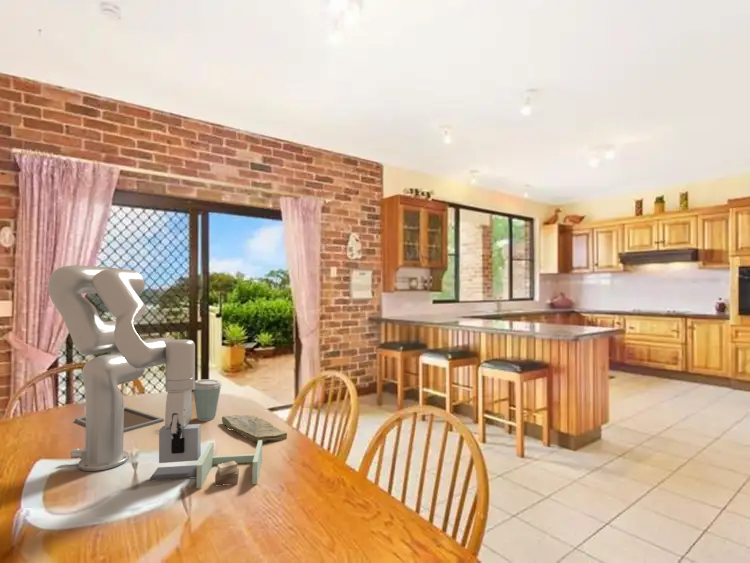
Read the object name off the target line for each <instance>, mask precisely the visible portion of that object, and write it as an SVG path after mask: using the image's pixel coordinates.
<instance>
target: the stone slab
mask: <svg viewBox="0 0 750 563" xmlns="http://www.w3.org/2000/svg"><path fill="white" fill-rule="evenodd" d="M221 421H222V424H223V426H225V425H226V426H227V427H226V426H225V427H226V429H227V428H229V429H233V430H235V431H234V432H237V433H238V434H239V435H241V436H242V435H243V436H242V437H244V436H245V438H246V437H247V438H246V439H248V438H249V440H250V439H251V441H253V442H256V443H258V440H262V444H264V443H263V442H264V441H265V442H268V441H267V440H278V441H281V439H282V440H284V438H285V439H287V438H288V433H287V431H285V430H281V429H279V428H277V427H276V426H274V425H273V424H272V423H271V422H269V421H267V420H265V419H263V418H261V417H259V416H256V415H253V414H251V415H250V414H243V415H241V414H234V415H225V416H222V417H221ZM233 430H232V431H233Z"/></svg>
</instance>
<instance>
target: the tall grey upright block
mask: <svg viewBox="0 0 750 563" xmlns="http://www.w3.org/2000/svg"><path fill="white" fill-rule="evenodd" d="M201 425H202V424H201V423H195V424H194V423H193V424H188V425H186V426H185V427H184V429H183V438H184V453H176V454H172V453H171V442H172V439H171V436H172V435H171V428H172V425H171V427H170V428H169V429H166V428H165V425H163V426H161V428H160V429H158V464H168V463H179V462H180V463H181V462H197V461H199V459H200V458H201V457H202V456H201V449H202V448H201V447H202V446H201V444H202V442H201V439H202V437H201V436H202V434H201V432H202V429H201V427H202V426H201ZM180 426H181V425H178V427H180ZM178 431H180V430H178Z"/></svg>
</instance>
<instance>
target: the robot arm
mask: <svg viewBox="0 0 750 563" xmlns="http://www.w3.org/2000/svg"><path fill="white" fill-rule="evenodd" d="M145 284H146V282H145V279H144V278H143V276H142V274H140V273H139V272H137V271H135V270H134V269H123V268H116V267H109V266H96V265H95V266H92V265H65V266H61V267H58V268H57V269H55V270H54V271H52V272H51V274H50V276H49V279H48V285H47V288H48V295H49V298H50V299H51V301H52V304H53V305H54V307H55V308H56V310H57V311H58V313H59V315H60V316H61V317H62V319H63V321H64V323H65V326H66V329H67V331H68V333H69V336H70V338H71V340H72V342H73V344H74V346H75V348H76V350H77V351H78V352H79V353H80V354H82V355H84V356H93V355H99V354H103V355H99V356H96V357H92V358H91V359H90V360H88V361H87V362H86V363H85V364H84V366H83V368H82V372H81V377H82V382H83V387H84V391H85V392H84V393H85V416H86V426H85V438H84V439H85V440H84V441H85V444H84V446H85V447H83V448H73V449H71V451H70V454H69V455H70V459H80V460H79V461H78V468H79V469H80V470H82V471H87V472H95V471H97V472H98V471H105V470H108V469H112V468H115V467H118V466H121V465H123V464H126V462H127V461H129V459H130V453H129V451H126V450H124V435H125V432H124V407H125V400H124V396H123V394H122V392H121V391H120V388H119V387H118V386H120V385H122V384H125V383H130V382H132V381H135V380H138V379H139V378H141V377H142V376H143V375H144V373H145V371H146V369H148V368H152V367H155V366H161V365H165V373H164V374H165V376H164V378H165V386H164V387H165V392H166V393H167V396H166V400H165V401H166V402H165V403H166V404H165V414H164V415H165V418H164V426H165V428H166V429H169V428H170V427H171V426H172V428H171V435H172V436H171V439H172V442H171V453H172V454H176V453H184V438H183V429H184V427H185V426H186V425H189V423H190V421H191V420H192V418H193V417H192V416H193V392H192V391H194V390H193V389H195V381H196V344H195V342H194V341H193V340H192V339H185V338H184V339H182V338H181V339H176V338H173V337H172V338H171V337H159V338H152V339H145V340H143V339H142V338H141V337H140V335H139V334H138V333H137V330H136V329H135V326H134V322H135V321H137V320H138V319H140V318H141V317H142V316H143V315H144V314H145V311H146V309H147V308H146V307H147V306H146V304H145V303H144V301H142V299H141V297H140V296H139V295H141V294H142V293H143V292H144V289H145ZM82 294H97V295H98V297H99V298H100V300H101V301H102V302H103V304H104V305H105V307H106V308H107V310H108V312H109V313H110V314H111V315H112V317H113V318H114V320H111V321H110V320H108V321H104V320H102V319H101V317H100V315H99V313H98V311H97V308H96V307H95V306H94V305H93V304H92V303H91V302H90V301H89V300H88V299H87V298H85V297H84V296H83V295H82ZM104 353H108V354H104ZM178 425H181V426H180V427H178ZM178 430H180V431H178Z"/></svg>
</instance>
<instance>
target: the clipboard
mask: <svg viewBox="0 0 750 563" xmlns="http://www.w3.org/2000/svg"><path fill="white" fill-rule="evenodd" d="M74 422H75V423H78V424H80V425H83V426H85V427H86V415H85V416H82V417H78V418H75V419H74ZM162 422H165V418H163V417H159V416H157V415H154V414H151V413H148V412H143V411H141V410H137V409H134V408H132V407H128V406H124V433H127V432H131V431H134V430H138V429H141V428H142V429H143V428H145V427H149V426H152V425H156V424H159V423H162Z"/></svg>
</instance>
